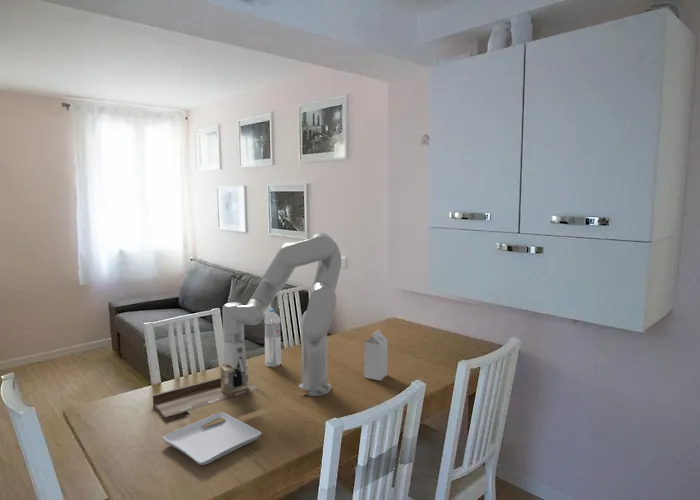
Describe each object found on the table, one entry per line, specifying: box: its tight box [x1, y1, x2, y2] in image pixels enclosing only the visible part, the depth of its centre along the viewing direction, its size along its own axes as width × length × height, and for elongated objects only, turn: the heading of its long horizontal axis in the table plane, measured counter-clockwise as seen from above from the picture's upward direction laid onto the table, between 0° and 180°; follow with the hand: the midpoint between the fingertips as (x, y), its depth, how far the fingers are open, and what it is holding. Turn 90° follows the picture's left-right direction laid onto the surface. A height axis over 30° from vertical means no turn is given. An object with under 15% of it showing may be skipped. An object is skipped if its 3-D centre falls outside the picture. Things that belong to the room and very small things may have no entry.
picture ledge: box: [152, 376, 260, 422], centre depth 162 cm, size 14×34×4 cm, turn 129°
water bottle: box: [263, 308, 282, 368], centre depth 195 cm, size 7×7×25 cm
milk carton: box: [363, 329, 389, 381], centre depth 183 cm, size 7×7×19 cm
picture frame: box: [220, 363, 249, 394], centre depth 167 cm, size 4×9×9 cm, turn 129°
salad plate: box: [161, 411, 262, 466], centre depth 134 cm, size 21×21×3 cm
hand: (234, 383), depth 168 cm, fingers closed on picture frame, 4 cm apart
